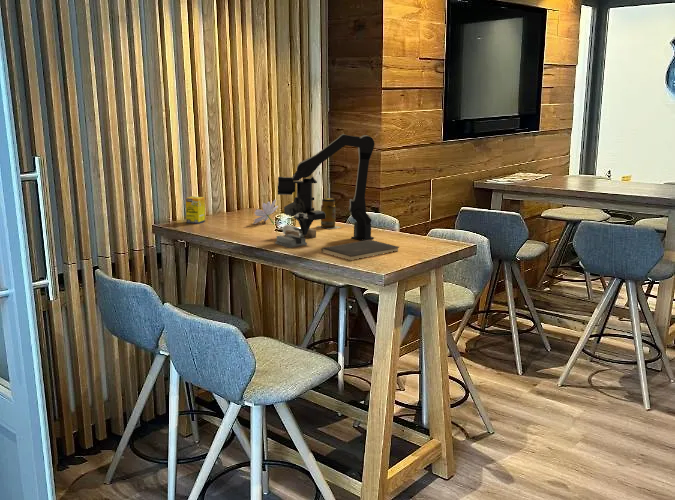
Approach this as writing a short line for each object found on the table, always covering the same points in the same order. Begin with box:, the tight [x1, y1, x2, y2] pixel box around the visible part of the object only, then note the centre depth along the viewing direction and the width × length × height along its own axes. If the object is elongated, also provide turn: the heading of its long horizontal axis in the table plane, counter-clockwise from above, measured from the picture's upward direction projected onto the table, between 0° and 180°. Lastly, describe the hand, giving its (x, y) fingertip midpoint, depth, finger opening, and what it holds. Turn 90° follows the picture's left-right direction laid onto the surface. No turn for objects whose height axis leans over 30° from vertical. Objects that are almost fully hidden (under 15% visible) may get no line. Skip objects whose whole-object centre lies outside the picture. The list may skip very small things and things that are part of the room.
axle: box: [282, 224, 305, 238], centre depth 266 cm, size 9×4×4 cm, turn 41°
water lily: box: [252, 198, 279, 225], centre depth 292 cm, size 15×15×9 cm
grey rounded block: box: [284, 228, 317, 239], centre depth 264 cm, size 6×10×3 cm, turn 131°
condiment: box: [317, 197, 343, 230], centre depth 285 cm, size 7×8×12 cm
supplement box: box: [185, 195, 206, 225], centre depth 292 cm, size 6×6×11 cm
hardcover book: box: [321, 239, 400, 261], centre depth 242 cm, size 16×23×2 cm
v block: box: [274, 234, 308, 249], centre depth 253 cm, size 9×8×3 cm
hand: (304, 234), depth 262 cm, fingers closed
